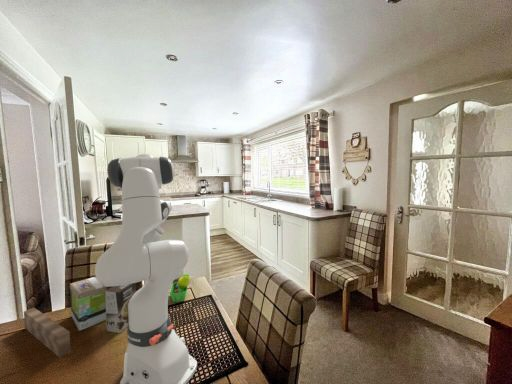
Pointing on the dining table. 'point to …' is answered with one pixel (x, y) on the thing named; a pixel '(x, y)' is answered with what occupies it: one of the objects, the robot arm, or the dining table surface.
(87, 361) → the dining table surface
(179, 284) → the fruit basket
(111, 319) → the coffee box
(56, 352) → the grey-brown long bar
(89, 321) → the tea box
